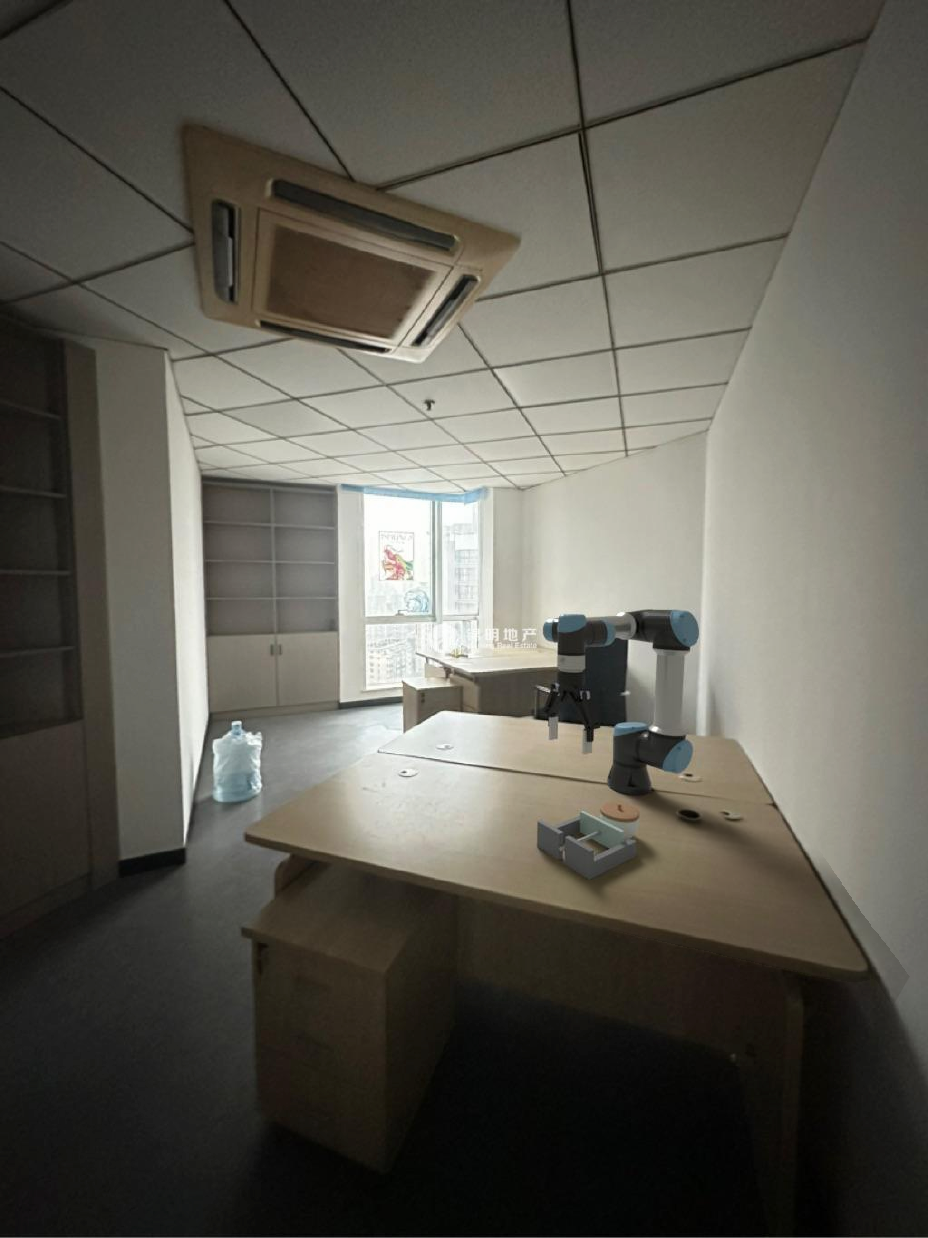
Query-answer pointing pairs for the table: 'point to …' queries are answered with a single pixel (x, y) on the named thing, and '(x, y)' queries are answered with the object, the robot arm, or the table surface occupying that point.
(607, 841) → the pusher
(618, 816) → the lidded jar
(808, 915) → the table surface
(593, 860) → the grey fixture frame
